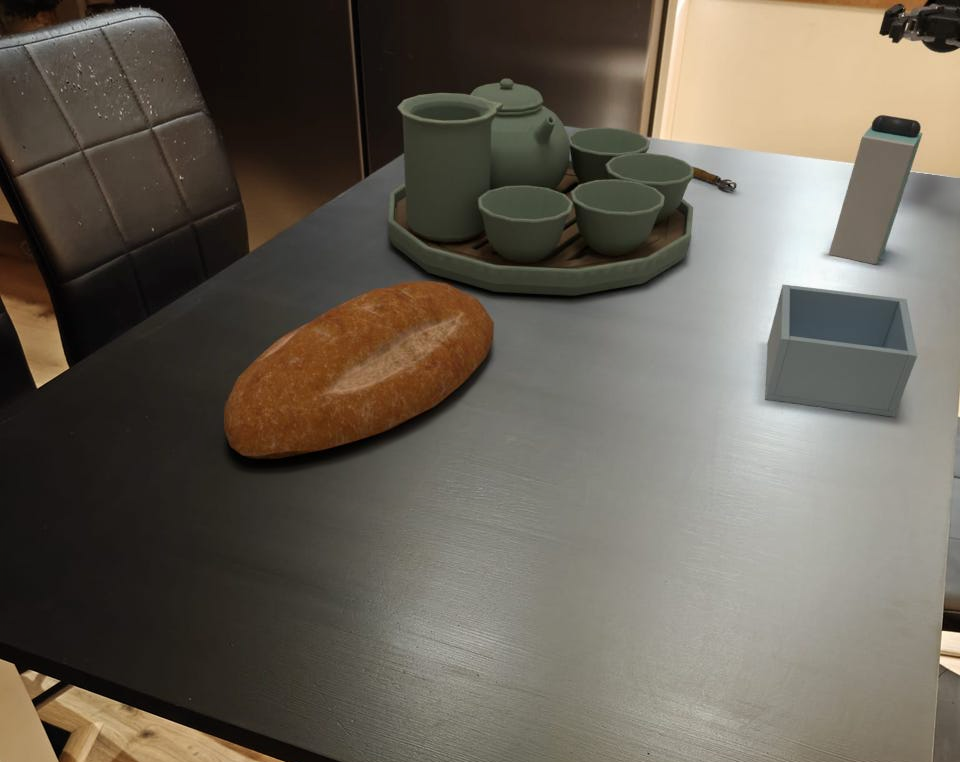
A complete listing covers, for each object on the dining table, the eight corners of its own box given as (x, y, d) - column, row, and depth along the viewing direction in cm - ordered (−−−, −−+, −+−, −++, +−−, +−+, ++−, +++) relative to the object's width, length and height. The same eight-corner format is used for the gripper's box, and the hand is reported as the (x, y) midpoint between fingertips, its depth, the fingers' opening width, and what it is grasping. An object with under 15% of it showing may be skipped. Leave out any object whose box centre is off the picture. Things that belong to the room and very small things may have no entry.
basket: (885, 357, 101) (906, 298, 97) (894, 417, 93) (917, 355, 88) (767, 342, 103) (782, 283, 99) (764, 399, 95) (781, 338, 90)
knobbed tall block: (839, 239, 124) (876, 110, 113) (884, 249, 122) (927, 118, 111) (828, 254, 121) (866, 121, 110) (875, 264, 119) (918, 130, 108)
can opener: (687, 174, 141) (688, 166, 140) (698, 172, 142) (700, 163, 141) (730, 193, 135) (732, 185, 135) (742, 190, 136) (743, 182, 136)
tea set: (609, 331, 104) (628, 174, 93) (326, 248, 119) (312, 104, 107) (736, 219, 129) (764, 84, 117) (488, 162, 143) (491, 37, 132)
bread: (540, 350, 101) (545, 269, 95) (305, 501, 81) (293, 411, 74) (416, 303, 108) (414, 225, 102) (173, 431, 88) (152, 343, 82)
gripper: (908, -28, 123) (883, -7, 113) (1024, -15, 118) (1008, 9, 108) (890, 38, 128) (864, 65, 118) (999, 53, 124) (982, 82, 113)
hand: (933, 38), depth 113 cm, fingers open, 8 cm apart
